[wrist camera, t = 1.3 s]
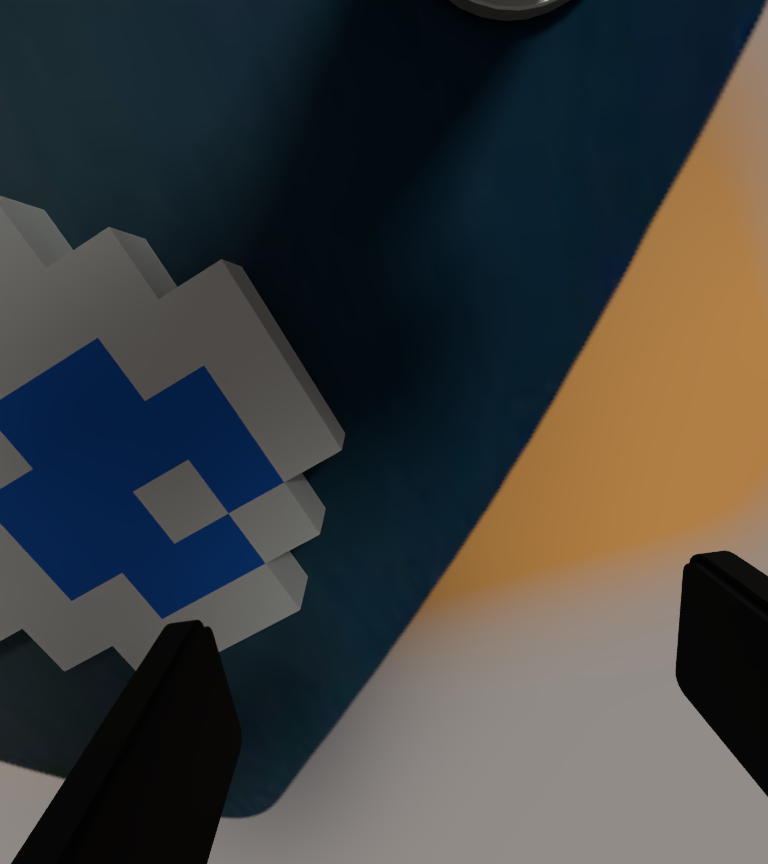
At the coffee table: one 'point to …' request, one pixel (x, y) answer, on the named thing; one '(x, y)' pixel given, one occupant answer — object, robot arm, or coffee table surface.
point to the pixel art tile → (146, 447)
